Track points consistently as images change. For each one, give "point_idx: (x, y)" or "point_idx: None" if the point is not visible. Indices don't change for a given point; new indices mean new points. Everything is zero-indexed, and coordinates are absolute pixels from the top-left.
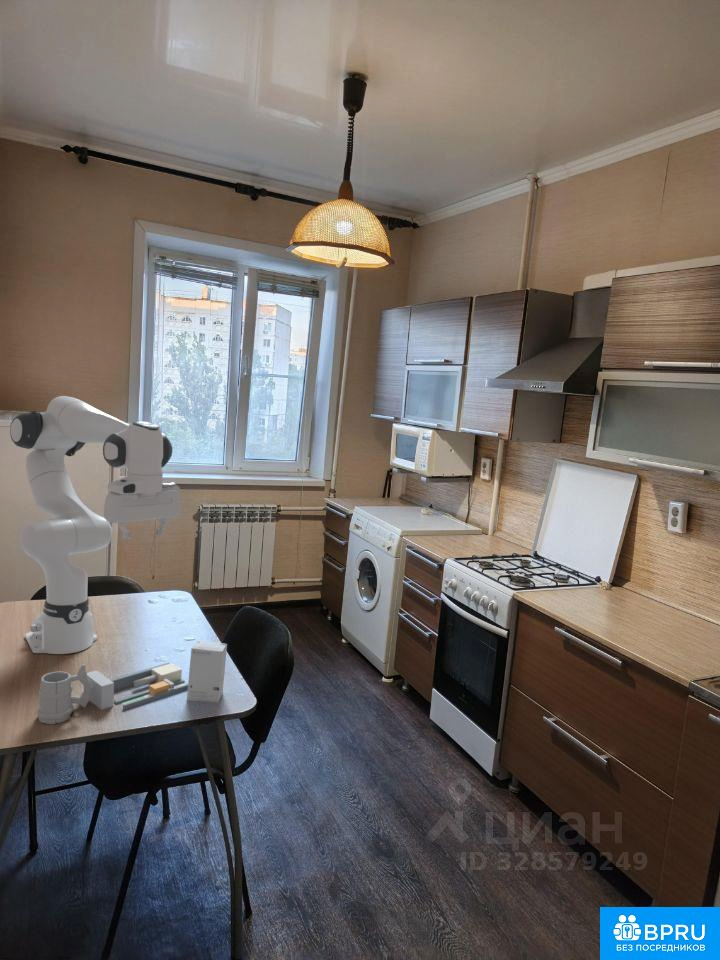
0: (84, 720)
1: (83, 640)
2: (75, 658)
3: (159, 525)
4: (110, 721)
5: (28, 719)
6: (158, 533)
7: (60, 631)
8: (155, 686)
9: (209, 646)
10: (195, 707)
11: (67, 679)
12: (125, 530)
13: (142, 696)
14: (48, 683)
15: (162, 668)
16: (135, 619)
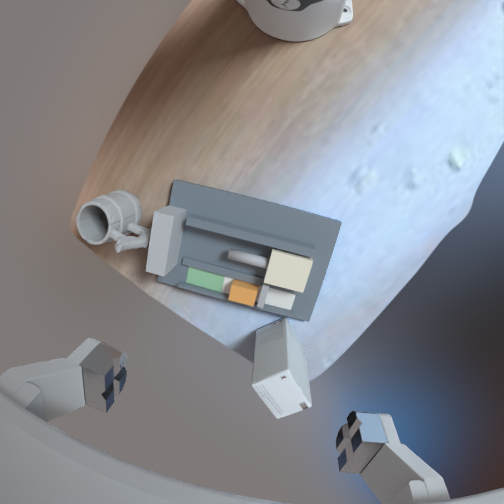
0: (141, 250)
1: (301, 31)
2: (266, 56)
3: (393, 456)
4: None
5: (101, 191)
6: (339, 440)
7: (260, 4)
8: (234, 295)
9: (278, 399)
10: None
11: (99, 244)
12: (62, 405)
13: (222, 276)
14: (79, 232)
15: (285, 264)
16: (450, 22)
